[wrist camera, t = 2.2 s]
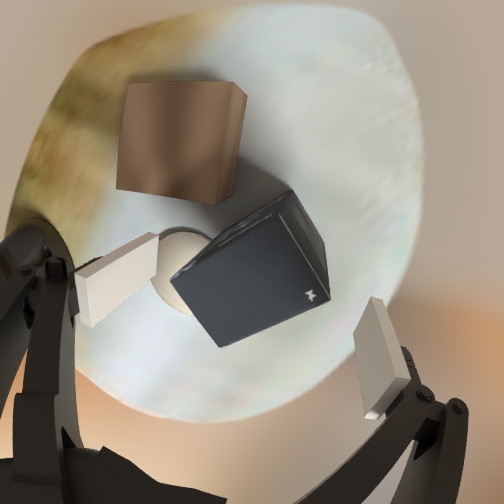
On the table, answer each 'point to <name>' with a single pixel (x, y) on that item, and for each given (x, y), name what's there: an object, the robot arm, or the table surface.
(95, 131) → the table surface
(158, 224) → the table surface
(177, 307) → the coaster
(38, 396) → the robot arm
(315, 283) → the box
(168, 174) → the block
